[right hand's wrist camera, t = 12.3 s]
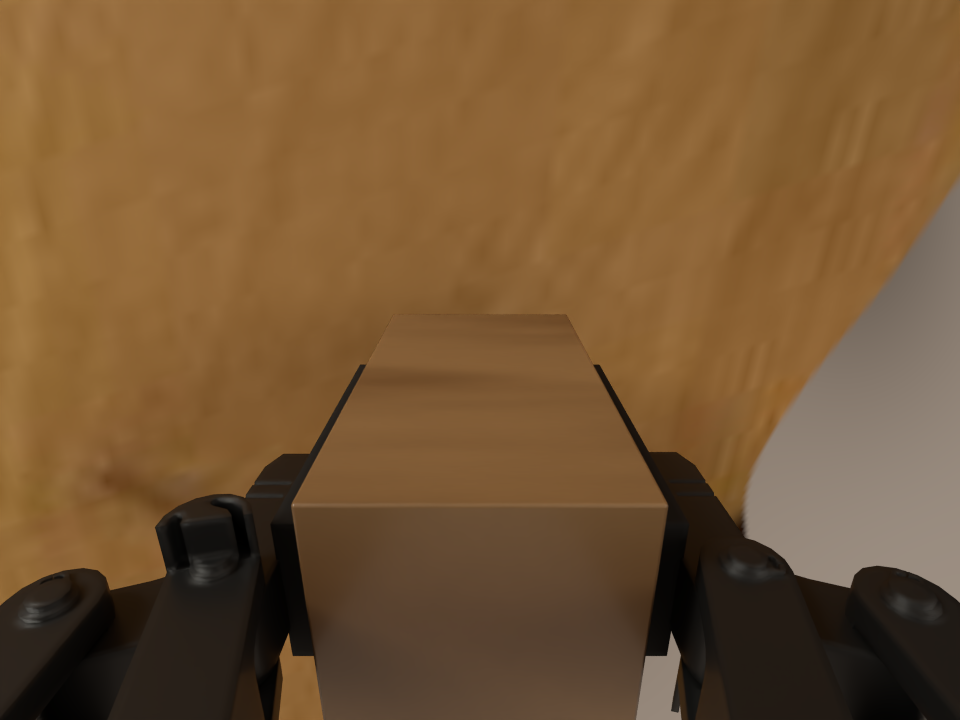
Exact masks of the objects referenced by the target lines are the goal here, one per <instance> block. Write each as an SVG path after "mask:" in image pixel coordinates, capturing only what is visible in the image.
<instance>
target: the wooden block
mask: <svg viewBox="0 0 960 720" xmlns="http://www.w3.org/2000/svg"><path fill="white" fill-rule="evenodd" d="M291 509H292V515H293V522H294V528H295V535H296V542H297V548H298V555H299V561H300V568H301V574H302V581H303V587H304V594H305V600H306V607H307V614H308V620H309V627H310V633H311V640H312V646H313V653H314V659H315V666H316V672H317V679H318V686H319V692H320V699H321V705H322V712H323V718H324V720H636V715H637V708H638V702H639V695H640V689H641V682H642V675H643V669H644V663H645V656H646V649H647V643H648V636H649V630H650V623H651V617H652V610H653V603H654V597H655V590H656V584H657V577H658V571H659V564H660V557H661V551H662V544H663V538H664V531H665V525H666V518H667V511H668V503H667V501H666V500H665V498H664V496H663V494H662V492H661V490H660V488H659V487H658V485H657V483H656V481H655V479H654V477H653V475H652V473H651V472H650V470H649V468H648V466H647V464H646V462H645V460H644V459H643V457H642V455H641V453H640V451H639V449H638V447H637V446H636V444H635V442H634V440H633V438H632V436H631V434H630V432H629V431H628V429H627V427H626V425H625V423H624V421H623V419H622V418H621V416H620V414H619V412H618V410H617V408H616V406H615V405H614V403H613V401H612V399H611V397H610V395H609V393H608V391H607V390H606V388H605V386H604V384H603V382H602V380H601V378H600V377H599V375H598V373H597V371H596V369H595V367H594V365H593V364H592V362H591V360H590V358H589V356H588V354H587V352H586V350H585V349H584V347H583V345H582V343H581V341H580V339H579V337H578V336H577V334H576V332H575V330H574V328H573V326H572V324H571V323H570V321H569V319H568V317H567V315H393V316H392V318H391V320H390V322H389V324H388V326H387V328H386V329H385V331H384V333H383V335H382V337H381V339H380V341H379V342H378V344H377V346H376V348H375V350H374V352H373V354H372V355H371V357H370V359H369V361H368V363H367V365H366V367H365V368H364V370H363V372H362V374H361V376H360V378H359V380H358V381H357V383H356V385H355V387H354V389H353V391H352V393H351V394H350V396H349V398H348V400H347V402H346V404H345V406H344V407H343V409H342V411H341V413H340V415H339V417H338V419H337V420H336V422H335V424H334V426H333V428H332V430H331V432H330V433H329V435H328V437H327V439H326V441H325V443H324V445H323V446H322V448H321V450H320V452H319V454H318V456H317V458H316V459H315V461H314V463H313V465H312V467H311V469H310V471H309V472H308V474H307V476H306V478H305V480H304V482H303V484H302V485H301V487H300V489H299V491H298V493H297V495H296V497H295V498H294V500H293V502H292V505H291Z"/></svg>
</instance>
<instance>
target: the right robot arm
mask: <svg viewBox="0 0 960 720" xmlns="http://www.w3.org/2000/svg"><path fill="white" fill-rule="evenodd" d="M365 367H366V365H360V366H359V368H358V370H357V371H356V373H355V375H354V377H353V378H352V380H351V382H350V384H349V386H348V387H347V389H346V391H345V393H344V394H343V396H342V398H341V400H340V401H339V403H338V405H337V407H336V409H335V410H334V412H333V414H332V416H331V417H330V419H329V421H328V423H327V424H326V426H325V428H324V430H323V432H322V433H321V435H320V437H319V439H318V440H317V442H316V444H315V446H314V447H313V449H312V451H311V453H310V454H283V455H281V456H280V457H278V458H277V459H276V460H274V461H273V462H271V463H270V464H269V465H267V466H266V467H265V468H264V469H263V471H262V472H261V474H260V475H259V477H258V478H257V479H256V481H255V485H252V487H251V488H250V490H249V491H248V493H247V494H246V498H244V497H240V496H236V495H232V494H214V495H209V496H205V497H201V498H196V499H194V500H191V501H189V502H187V503H184V504H182V505H180V506H178V507H176V508H175V509H173V510H172V511H171V512H169V513H168V514H166V515H165V516H164V517H163V518H162V519H161V520H160V522H159V523H158V524H157V526H156V527H155V529H156V533H157V536H158V540H159V544H160V548H161V551H162V555H163V559H164V563H165V566H166V570H167V574H166V576H165V577H164V578H160V579H157V580H154V581H150V582H146V583H141V584H137V585H132V586H128V587H123V588H119V589H114V590H110V589H109V586H108V583H107V580H106V577H105V576H104V575H102V574H101V573H100V572H99V571H98V570H92V569H85V568H80V569H73V570H65V571H62V572H59V573H55V574H52V575H49V576H46V577H43V578H41V579H39V580H37V581H36V582H34V583H32V584H30V585H28V586H26V587H24V588H22V589H21V590H19V591H18V592H17V593H15V594H14V595H13V596H12V597H10V598H9V599H8V600H6V601H5V602H4V603H3V604H2V605H1V606H0V720H279V710H280V700H281V691H282V681H283V677H282V670H281V664H280V658H279V656H280V653H281V651H282V648H283V646H284V643H285V641H286V638H287V636H288V633H289V637H290V642H291V648H292V654H293V656H314V653H313V646H312V640H311V633H310V627H309V620H308V614H307V607H306V600H305V594H304V587H303V581H302V574H301V568H300V561H299V555H298V548H297V542H296V535H295V528H294V522H293V515H292V509H291V505H292V502H293V500H294V498H295V497H296V495H297V493H298V491H299V489H300V487H301V485H302V484H303V482H304V480H305V478H306V476H307V474H308V472H309V471H310V469H311V467H312V465H313V463H314V461H315V459H316V458H317V456H318V454H319V452H320V450H321V448H322V446H323V445H324V443H325V441H326V439H327V437H328V435H329V433H330V432H331V430H332V428H333V426H334V424H335V422H336V420H337V419H338V417H339V415H340V413H341V411H342V409H343V407H344V406H345V404H346V402H347V400H348V398H349V396H350V394H351V393H352V391H353V389H354V387H355V385H356V383H357V381H358V380H359V378H360V376H361V374H362V372H363V370H364V368H365ZM594 367H595V369H596V371H597V373H598V375H599V377H600V378H601V380H602V382H603V384H604V386H605V388H606V390H607V391H608V393H609V395H610V397H611V399H612V401H613V403H614V405H615V406H616V408H617V410H618V412H619V414H620V416H621V418H622V419H623V421H624V423H625V425H626V427H627V429H628V431H629V432H630V434H631V436H632V438H633V440H634V442H635V444H636V446H637V447H638V449H639V451H640V453H641V455H642V457H643V459H644V460H645V462H646V464H647V466H648V468H649V470H650V472H651V473H652V475H653V477H654V479H655V481H656V483H657V485H658V487H659V488H660V490H661V492H662V494H663V496H664V498H665V500H666V501H667V503H668V511H667V518H666V525H665V531H664V538H663V544H662V551H661V557H660V564H659V571H658V577H657V584H656V590H655V597H654V603H653V610H652V617H651V623H650V630H649V636H648V643H647V649H646V656H667V652H668V646H669V640H670V634H671V631H672V634H673V636H674V639H675V641H676V644H677V646H678V649H679V651H680V654H681V658H680V664H679V669H678V674H677V680H676V685H675V691H674V696H673V702H672V709H671V711H673V712H679V707H680V709H681V718H682V720H960V603H959V602H958V601H957V600H956V599H955V598H954V597H952V596H951V595H949V594H948V593H947V592H946V591H944V590H943V589H942V588H940V587H939V586H937V585H935V584H933V583H931V582H930V581H928V580H926V579H924V578H922V577H920V576H918V575H915V574H912V573H910V572H906V571H903V570H900V569H897V568H890V567H883V566H873V567H867V568H862V569H861V570H860V571H859V572H858V573H856V574H855V575H854V578H853V581H852V585H851V588H846V587H842V586H837V585H833V584H829V583H824V582H820V581H815V580H811V579H807V578H804V577H800V576H797V575H794V573H793V571H792V569H791V568H790V566H789V565H788V563H787V562H786V561H785V559H783V558H782V557H781V556H780V555H778V554H777V553H776V552H775V551H774V550H772V549H771V548H769V547H767V546H765V545H763V544H761V543H758V542H756V541H754V540H750V539H746V538H745V537H744V536H743V534H742V533H741V531H740V530H739V529H738V527H737V526H736V524H735V523H734V521H733V520H732V518H731V517H730V515H729V514H728V513H727V511H726V510H725V508H724V507H723V505H722V504H721V502H720V501H719V500H718V498H717V497H716V496H714V492H713V491H712V489H711V488H710V486H709V485H708V484H707V483H705V479H704V478H703V476H702V475H701V473H700V472H699V471H698V469H697V468H696V466H695V465H694V464H692V463H691V462H690V461H688V460H687V459H685V458H684V457H682V456H681V455H680V454H678V453H677V452H648V450H647V448H646V446H645V445H644V443H643V441H642V439H641V438H640V436H639V434H638V432H637V430H636V429H635V427H634V425H633V423H632V422H631V420H630V418H629V416H628V415H627V413H626V411H625V409H624V407H623V406H622V404H621V402H620V400H619V399H618V397H617V395H616V393H615V392H614V390H613V388H612V386H611V384H610V383H609V381H608V379H607V377H606V376H605V374H604V372H603V370H602V369H601V367H600V365H594Z"/></svg>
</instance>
